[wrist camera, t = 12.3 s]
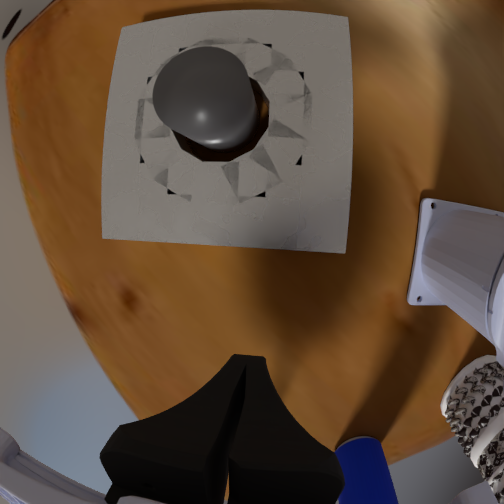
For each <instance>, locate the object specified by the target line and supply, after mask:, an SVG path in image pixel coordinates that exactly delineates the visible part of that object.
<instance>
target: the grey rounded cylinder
mask: <svg viewBox="0 0 504 504" xmlns="http://www.w3.org/2000/svg"><path fill="white" fill-rule="evenodd" d="M152 97H153V106H154V109H155V112H156V114H157V116H158V117H159V119H160V120H161V121H162V122H163V123H164V124H165V125H166V126H168V127H169V128H171V129H172V130H174V131H176V132H178V133H180V134H182V135H184V136H186V137H188V138H190V139H192V140H193V141H195V142H197V143H199V144H201V145H203V146H205V147H206V148H208V149H210V150H213V151H216V152H232V151H236V150H238V149H241V148H242V147H244V146H245V145H247V144H248V143H249V142H250V141H251V140H252V139H253V137H254V136H255V134H256V132H257V130H258V127H259V112H258V108H257V105H256V101H255V97H254V94H253V90H252V87H251V83H250V80H249V76H248V73H247V70H246V68H245V66H244V65H243V63H242V62H241V60H240V59H239V58H238V57H237V56H235V55H234V54H233V53H231V52H229V51H227V50H225V49H222V48H218V47H212V46H204V47H197V48H192V49H189V50H187V51H184V52H182V53H180V54H179V55H177V56H175V57H174V58H173V59H171V60H170V61H169V62H168V63H167V64H166V65H165V66H164V67H163V69H162V70H161V72H160V73H159V75H158V77H157V79H156V81H155V84H154V88H153V95H152Z"/></svg>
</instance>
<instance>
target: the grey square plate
mask: <svg viewBox="0 0 504 504" xmlns="http://www.w3.org/2000/svg"><path fill="white" fill-rule="evenodd" d="M204 46H212V47H218V48H222V49H225V50H227V51H229V52H231V53H233V54H234V55H235V56H237V57H238V58H239V59H240V60H241V62H242V63H243V65H244V66H245V68H246V70H247V73H248V76H249V80H250V83H251V87H252V89H253V90H255V91H257V92H258V93H260V95H261V96H262V98H263V100H264V101H265V103H266V105H267V106H268V108H269V127H268V128H267V130H266V131H265V133H264V134H263V136H262V137H261V139H260V140H259V142H258V143H257V145H256V146H255V148H254V149H253V150H251V151H249V152H247V153H245V154H243V155H241V156H239V157H238V158H236V159H234V160H232V161H230V162H206V161H205V160H203V159H201V158H200V157H198V156H196V155H195V154H193V153H192V151H191V149H190V147H189V145H188V143H187V141H186V139H185V137H184V135H182V134H180V133H178V132H176V131H174V130H172V129H171V128H169V127H168V126H166V125H165V124H164V123H163V122H162V121H161V120H160V119H159V117H158V116H157V114H156V112H155V109H154V106H153V97H152V95H153V88H154V84H155V81H156V79H157V77H158V75H159V73H160V72H161V70H162V69H163V67H164V66H165V65H166V64H167V63H168V62H169V61H170V60H171V59H173V58H174V57H175V56H177V55H179V54H180V53H182V52H184V51H187V50H189V49H192V48H197V47H204ZM352 154H353V84H352V61H351V46H350V33H349V22H348V17H344V16H337V15H330V14H322V13H313V12H302V11H288V10H231V11H216V12H205V13H196V14H188V15H181V16H174V17H168V18H163V19H157V20H152V21H148V22H143V23H139V24H134V25H130V26H126V27H123V28H122V30H121V34H120V38H119V42H118V47H117V52H116V56H115V61H114V67H113V72H112V78H111V84H110V91H109V98H108V105H107V113H106V123H105V133H104V146H103V162H102V238H103V239H120V240H137V241H154V242H171V243H188V244H204V245H220V246H236V247H252V248H268V249H284V250H299V251H314V252H329V253H344V254H345V251H346V242H347V232H348V221H349V209H350V195H351V178H352ZM298 160H299V165H295V164H296V163H297V161H298ZM265 191H266V194H265V196H258V195H260V194H262V193H264V192H265Z"/></svg>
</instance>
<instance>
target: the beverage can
mask: <svg viewBox="0 0 504 504" xmlns="http://www.w3.org/2000/svg"><path fill="white" fill-rule="evenodd" d="M334 453H335V454H336V456H337V458H338V460H339V463H340V465H341V468H342V471H343V474H344V478H345V486H344V489H343V491H342V493H341V495H340V496H339V498H338V500H339V504H398V500H397V497H396V493H395V489H394V486H393V482H392V479H391V476H390V472H389V469H388V465H387V462H386V459H385V456H384V452H383V449H382V446H381V443H380V442H379V441H378V440H377V439H375V438H373V437H369V436H359V437H354V438H351V439H349V440H347V441H345V442H343V443H342V444H341V445H340V446H339V447H338V448H337V450H336V451H335V452H334Z"/></svg>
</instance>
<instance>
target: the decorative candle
mask: <svg viewBox="0 0 504 504" xmlns="http://www.w3.org/2000/svg"><path fill="white" fill-rule="evenodd" d="M503 381H504V367H503V366H502V365H501V364H500V363H499V362H498V361H497V360H496V356H493V355H485V356H482V357H480V358H477V359H475V360H474V361H472V362H471V363H470V364H468V365H467V366H465V367H464V368H463V369H462V370H461V371H460V372H459V373H458V374H457V375H456V377H455V378H454V379H453V380H452V381H451V383H450V384H449V386H448V387H447V389H446V391H445V392H444V394H443V397H442V401H441V404H440V406H441V412H442V414H443V415H444V416H445V417H447V418H446V422H450V427H452V428H451V431H452V432H455V431H456V432H455V436H459V439H458V443H459V444H461V446H462V447H465V448H464V454H466V455H467V457H470V458H471V460H472V462H473V463H474V465H475V467H477V468H479V470H480V472H481V474H482V476H483V478H484V480H485V481H488V483H489V485H490V487H491V489H492V491H493V493H494V495H495V497H496V499H497V501H498V504H504V392H503Z"/></svg>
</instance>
